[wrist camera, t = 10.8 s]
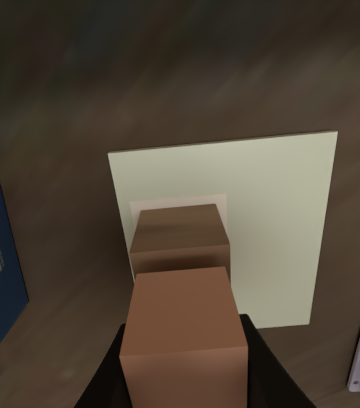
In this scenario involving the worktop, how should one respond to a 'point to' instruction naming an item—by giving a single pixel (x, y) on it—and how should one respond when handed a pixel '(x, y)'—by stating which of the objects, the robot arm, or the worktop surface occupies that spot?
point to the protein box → (9, 277)
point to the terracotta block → (185, 342)
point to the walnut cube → (180, 240)
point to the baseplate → (244, 210)
